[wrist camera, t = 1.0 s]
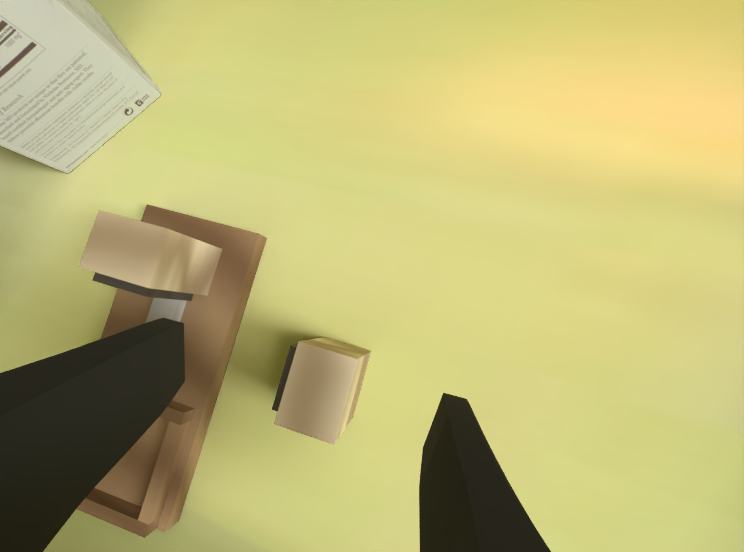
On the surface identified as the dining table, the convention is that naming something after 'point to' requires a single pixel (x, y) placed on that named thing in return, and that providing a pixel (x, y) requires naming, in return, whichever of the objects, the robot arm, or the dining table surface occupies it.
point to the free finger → (320, 387)
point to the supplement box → (65, 81)
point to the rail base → (201, 345)
